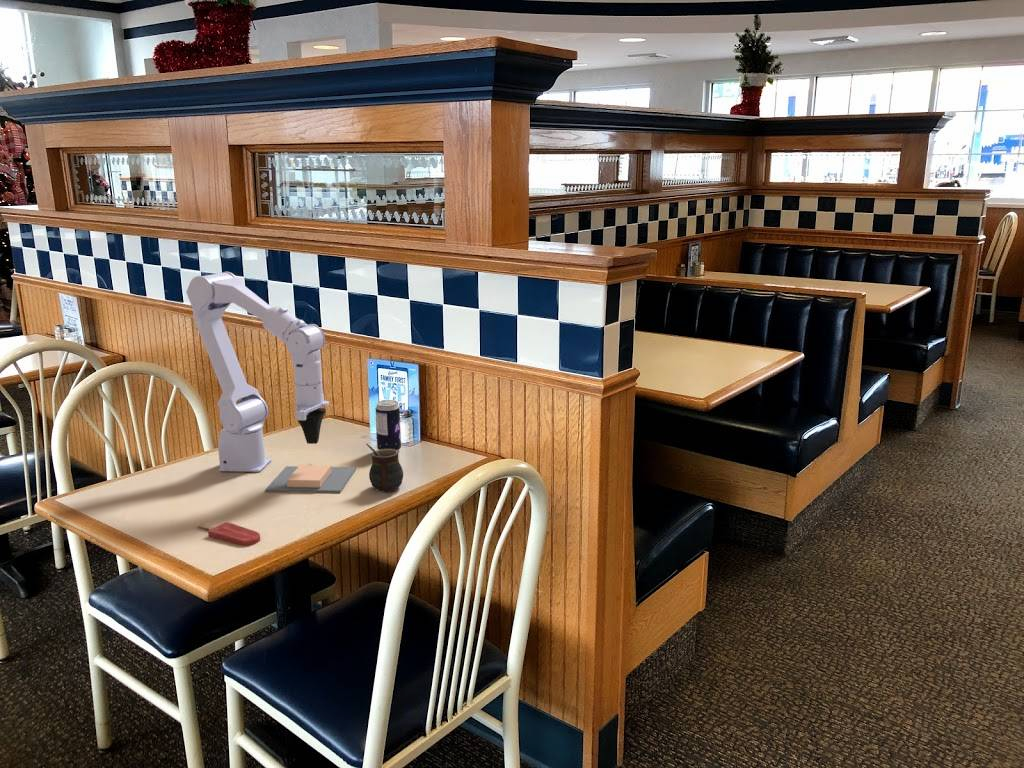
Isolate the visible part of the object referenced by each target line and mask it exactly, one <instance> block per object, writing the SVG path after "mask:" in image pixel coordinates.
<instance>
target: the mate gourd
mask: <svg viewBox="0 0 1024 768" xmlns="http://www.w3.org/2000/svg"><path fill="white" fill-rule="evenodd" d="M365 445H366V446H367V447H368V448H369V449H370V450H371V451H372V453H371V461H372V463H371V467H370V469H369V473H368V478H369V481H370V483H371V487H372V488H374V489H375V490H377V491H378V492H383V493H389V492H393V491H396V490H398V488H399V487H401V485H402V483H403V478H404V471H403V466H402V465H401V463H400V461H399V450H398V451H397V450H394V449H381V450H378V449H377V450H375V449H374V448H373V447H372V446H370V445H369V444H368V443H367V442H366V443H365Z"/></svg>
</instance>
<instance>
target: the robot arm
mask: <svg viewBox="0 0 1024 768" xmlns="http://www.w3.org/2000/svg"><path fill="white" fill-rule="evenodd" d="M185 292H186V295H187V298H188V301H189V302H190V305H191V308H192V316H193V319H194V323H195V325H196V329H198V330H197V331H198V332H199V335H200V338H201V340H202V343H203V346H204V348H205V351H206V354H207V356H208V358H209V360H210V363H211V365H212V368H213V370H214V373H215V376H216V378H217V381H218V383H219V386H220V388H221V391H222V394H221V395H220V398H219V400H218V401H217V406H218V409H219V420H220V423H221V425H222V426H223V429H221V430H220V431H219V433H218V440H217V446H218V447H217V448H218V449H217V450H218V459H219V467H220V468H219V469H218V471H219V472H243V473H247V472H249V473H250V472H251V473H253V472H254V473H255V472H256V473H257V472H258V473H260V472H261V471H262V470H263V469H265V467H266V466H267V465H268V464H269V463H271V461H272V457H271V458H270V457H266V454H265V445H264V443H265V442H264V429H263V426H265V421H266V419H267V418H268V416H269V407H268V405H267V402H266V401H265V400H264V398H262V396H261V395H260V393H259V390H258V389H257V388H256V387H253V386H252V385H250V384H248V383H247V379H246V377H245V375H244V372H243V370H242V367H241V365H240V362H239V360H238V358H237V354H236V352H235V349H234V347H233V344H232V342H231V339H230V337H229V335H228V332H227V329H226V327H225V324H224V322H223V316H224V315H225V311H226V310H227V309H228V308H229V307H230V305H232V304H234V305H236V306H237V307H240V308H241V309H243V310H244V311H246V312H248V313H250V314H251V315H253V316H255V317H257V318H258V319H259V320H261V322H262V327H263V328H264V329H265V330H267V332H269V333H270V334H272V335H274V336H275V337H276V338H278V339H279V340H281V341H282V342H283V343H285V347H286V349H287V351H288V352H289V354H290V356H291V361H292V363H293V374H294V390H295V402H294V403H295V405H294V406H295V411H294V416H295V421H298V423H299V425H300V427H301V429H302V432H303V435H304V438H305V441H306V443H307V444H310V445H311V444H313V445H316V444H318V443H319V438H320V433H321V426H322V421H323V420H324V417H325V414H326V411H327V410H326V408H323V407H328V406H329V405H330V401H328V400H325V395H324V389H323V372H322V356H321V350H322V349H323V347H325V344H326V336H325V333H324V331H323V330H322V328H320V327H319V326H318V325H317V324H315V323H310V324H307V323H306V322H305V321H304V320H303V319H300V318H297V317H296V316H295V315H293V314H291V313H290V312H289V309H288V308H287V307H285V306H279V305H278V306H273V307H272V306H271V305H270V304H268V303H267V302H266V301H265V300H264V299H263V298H261V297H259V296H258V295H257V294H256V293H255V292H253V291H252V290H250V289H249V288H248V287H247V286H246V285H244V283H243V280H242V278H240V277H239V276H238V277H237V276H236V275H235V274H234V273H233V272H230V271H223V272H220V273H213V274H208V275H197V276H194V277H192V279H191V280H190V282H189V284H188V286H187V289H186V291H185ZM238 400H239V401H238Z"/></svg>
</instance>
